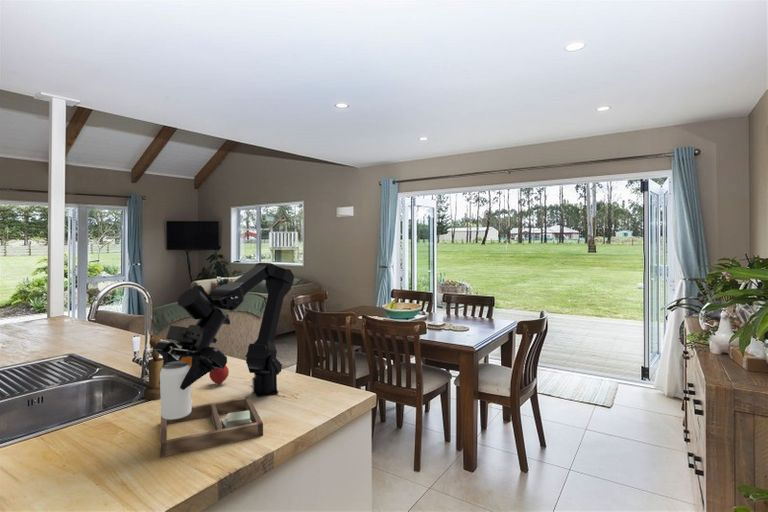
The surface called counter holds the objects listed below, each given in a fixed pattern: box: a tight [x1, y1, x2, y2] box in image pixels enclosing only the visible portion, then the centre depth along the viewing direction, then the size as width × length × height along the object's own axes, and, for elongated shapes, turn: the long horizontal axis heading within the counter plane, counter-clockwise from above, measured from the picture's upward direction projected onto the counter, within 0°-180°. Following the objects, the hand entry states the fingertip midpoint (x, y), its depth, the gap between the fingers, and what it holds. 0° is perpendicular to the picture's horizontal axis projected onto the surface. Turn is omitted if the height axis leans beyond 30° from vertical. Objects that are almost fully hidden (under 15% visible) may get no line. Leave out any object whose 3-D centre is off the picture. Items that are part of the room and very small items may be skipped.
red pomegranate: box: [208, 364, 229, 385], centre depth 137 cm, size 6×6×8 cm
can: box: [160, 361, 193, 420], centre depth 99 cm, size 6×6×12 cm
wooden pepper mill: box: [143, 336, 163, 401], centre depth 127 cm, size 7×6×18 cm
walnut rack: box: [159, 396, 264, 458], centre depth 106 cm, size 22×19×3 cm
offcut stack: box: [220, 410, 252, 429], centre depth 104 cm, size 7×6×4 cm
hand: (170, 387), depth 98 cm, fingers closed on can, 6 cm apart
